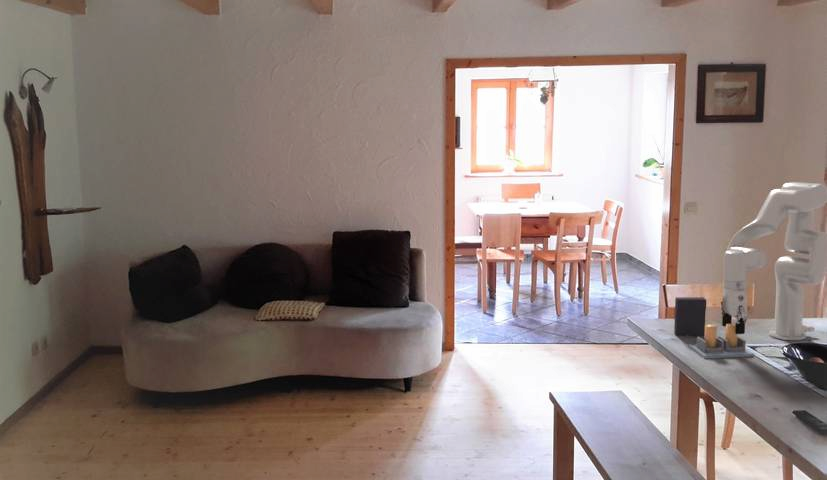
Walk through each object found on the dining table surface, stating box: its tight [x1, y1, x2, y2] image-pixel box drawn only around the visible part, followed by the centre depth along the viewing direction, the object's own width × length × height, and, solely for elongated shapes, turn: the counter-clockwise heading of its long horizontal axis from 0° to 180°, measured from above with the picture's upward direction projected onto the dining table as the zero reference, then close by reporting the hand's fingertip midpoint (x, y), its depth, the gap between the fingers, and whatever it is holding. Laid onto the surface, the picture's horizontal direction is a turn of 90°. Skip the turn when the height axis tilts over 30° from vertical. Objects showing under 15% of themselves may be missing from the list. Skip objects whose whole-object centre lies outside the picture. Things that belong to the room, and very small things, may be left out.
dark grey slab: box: [673, 296, 707, 337], centre depth 277 cm, size 11×4×15 cm, turn 84°
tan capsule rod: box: [724, 322, 739, 347], centre depth 256 cm, size 4×4×9 cm
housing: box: [688, 323, 755, 359], centre depth 256 cm, size 18×13×10 cm
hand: (733, 329), depth 256 cm, fingers open, 9 cm apart
